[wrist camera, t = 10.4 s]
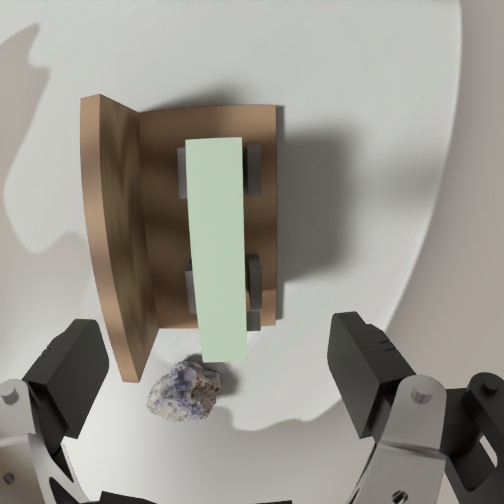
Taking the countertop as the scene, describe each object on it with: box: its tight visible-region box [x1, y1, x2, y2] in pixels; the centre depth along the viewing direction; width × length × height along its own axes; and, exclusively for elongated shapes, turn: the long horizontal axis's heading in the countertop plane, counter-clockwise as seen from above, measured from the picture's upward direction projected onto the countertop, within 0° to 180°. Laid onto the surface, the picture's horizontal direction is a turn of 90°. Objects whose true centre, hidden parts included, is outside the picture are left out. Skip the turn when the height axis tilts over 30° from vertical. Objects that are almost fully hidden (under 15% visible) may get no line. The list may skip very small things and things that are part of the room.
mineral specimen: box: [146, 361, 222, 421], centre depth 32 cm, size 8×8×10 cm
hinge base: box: [80, 94, 277, 383], centre depth 23 cm, size 22×14×10 cm, turn 1°
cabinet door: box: [185, 137, 261, 363], centre depth 22 cm, size 14×4×11 cm, turn 1°
